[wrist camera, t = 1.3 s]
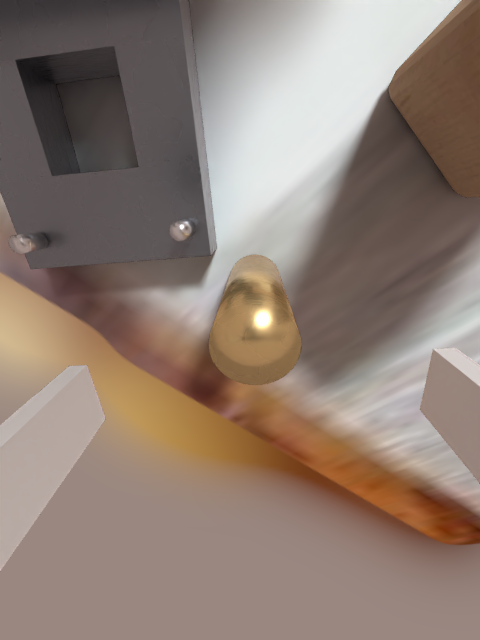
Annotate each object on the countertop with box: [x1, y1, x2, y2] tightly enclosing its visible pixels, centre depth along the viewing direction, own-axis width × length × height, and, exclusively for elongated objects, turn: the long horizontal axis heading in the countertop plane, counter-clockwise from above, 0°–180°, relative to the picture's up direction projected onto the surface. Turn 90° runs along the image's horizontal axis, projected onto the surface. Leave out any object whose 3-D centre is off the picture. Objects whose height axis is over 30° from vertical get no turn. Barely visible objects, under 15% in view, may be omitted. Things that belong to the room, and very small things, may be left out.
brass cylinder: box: [209, 255, 301, 385], centre depth 18 cm, size 4×4×12 cm
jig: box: [0, 0, 217, 269], centre depth 17 cm, size 18×14×7 cm
